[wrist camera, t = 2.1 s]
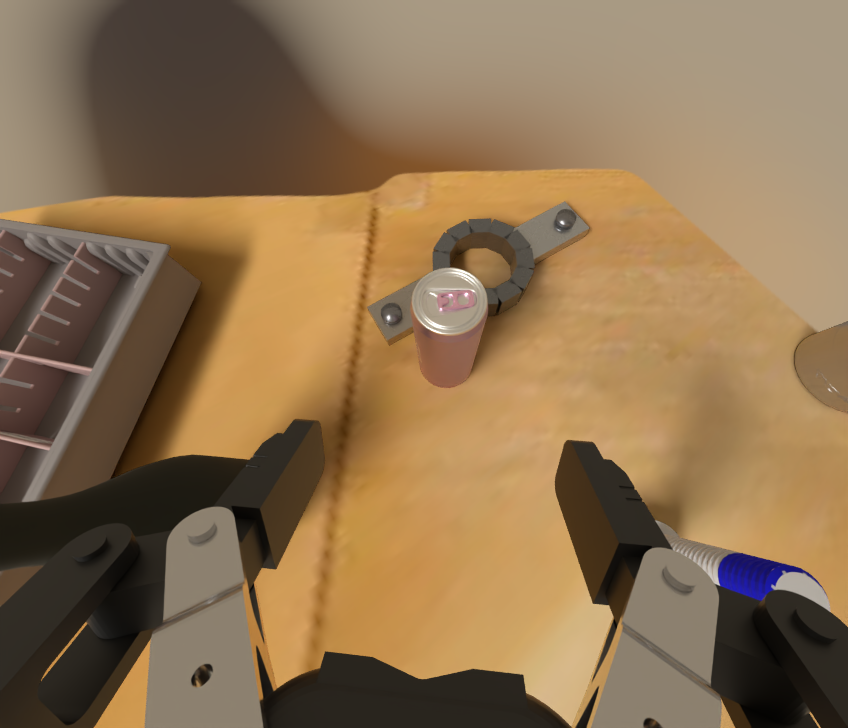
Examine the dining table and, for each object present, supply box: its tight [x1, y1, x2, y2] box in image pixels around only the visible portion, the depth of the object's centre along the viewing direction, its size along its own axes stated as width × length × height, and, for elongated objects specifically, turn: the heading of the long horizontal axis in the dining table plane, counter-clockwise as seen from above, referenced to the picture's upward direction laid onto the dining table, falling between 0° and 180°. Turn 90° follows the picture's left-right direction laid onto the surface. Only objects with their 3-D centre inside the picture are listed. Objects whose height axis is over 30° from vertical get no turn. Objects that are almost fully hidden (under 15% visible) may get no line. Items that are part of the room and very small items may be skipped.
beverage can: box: [410, 268, 488, 388], centre depth 32 cm, size 6×6×15 cm
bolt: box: [655, 520, 830, 612], centre depth 25 cm, size 16×5×5 cm
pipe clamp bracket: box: [367, 202, 590, 345], centre depth 41 cm, size 29×12×3 cm, turn 121°
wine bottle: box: [0, 455, 249, 572], centre depth 21 cm, size 8×8×30 cm
